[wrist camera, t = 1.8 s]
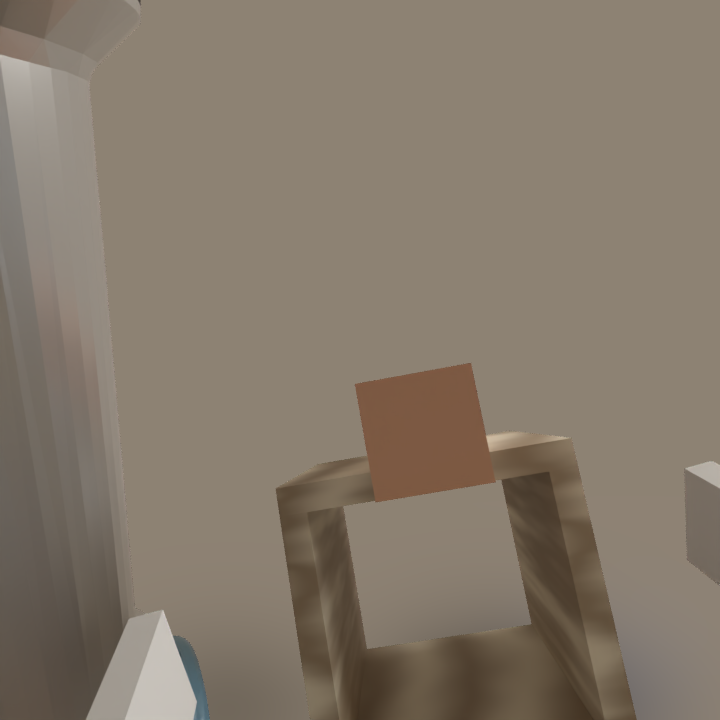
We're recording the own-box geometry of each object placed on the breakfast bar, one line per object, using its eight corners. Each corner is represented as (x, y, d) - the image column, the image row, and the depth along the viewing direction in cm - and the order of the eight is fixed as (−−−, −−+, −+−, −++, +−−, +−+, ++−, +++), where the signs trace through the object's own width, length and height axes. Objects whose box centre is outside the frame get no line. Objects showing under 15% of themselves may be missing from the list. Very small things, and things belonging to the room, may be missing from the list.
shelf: (372, 1143, 22) (275, 488, 26) (382, 865, 36) (318, 464, 40) (726, 1110, 21) (571, 437, 25) (597, 838, 35) (510, 430, 39)
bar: (375, 502, 16) (355, 384, 17) (388, 451, 40) (380, 403, 40) (495, 482, 16) (471, 362, 16) (437, 443, 40) (427, 395, 40)
